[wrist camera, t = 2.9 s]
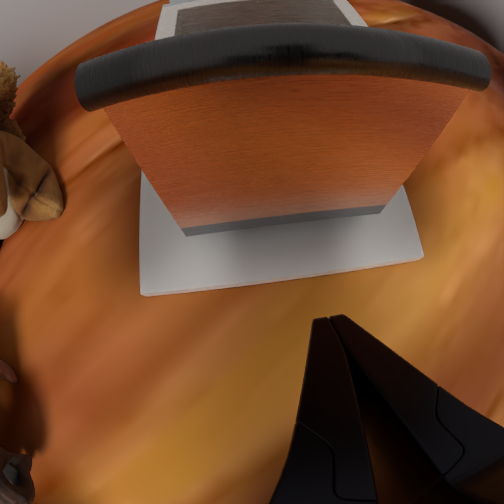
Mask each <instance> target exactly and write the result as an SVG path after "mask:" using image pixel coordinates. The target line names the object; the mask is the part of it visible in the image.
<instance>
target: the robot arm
mask: <svg viewBox="0 0 504 504" xmlns="http://www.w3.org/2000/svg"><path fill="white" fill-rule="evenodd" d="M268 504H504V427H502V426H500V425H499V424H497V423H495V422H493V421H492V420H490V419H488V418H486V417H485V416H483V415H481V414H480V413H478V412H477V411H475V410H473V409H472V408H470V407H469V406H467V405H465V404H464V403H463V402H461V401H460V400H458V399H457V398H456V397H454V396H453V395H451V394H450V393H449V392H447V391H446V390H445V389H443V388H442V387H441V386H438V385H437V384H436V383H435V382H434V381H432V380H431V379H430V378H428V377H427V376H426V375H425V374H423V373H422V372H421V371H419V370H418V369H417V368H415V367H414V366H413V365H411V364H410V363H409V362H407V361H406V360H405V359H403V358H402V357H401V356H399V355H398V354H397V353H395V352H394V351H393V350H391V349H390V348H389V347H387V346H386V345H385V344H383V343H382V342H381V341H379V340H378V339H377V338H375V337H374V336H373V335H371V334H370V333H369V332H367V331H366V330H364V329H363V328H362V327H360V326H359V325H358V324H356V323H355V322H354V321H352V320H351V319H350V318H348V317H347V316H346V315H343V314H340V315H335V316H330V317H329V318H327V317H323V318H317V319H313V321H312V327H311V334H310V341H309V348H308V354H307V360H306V366H305V372H304V378H303V384H302V390H301V395H300V401H299V406H298V411H297V416H296V424H295V426H294V430H293V435H292V440H291V444H290V447H289V451H288V455H287V459H286V461H285V464H284V467H283V469H282V472H281V475H280V477H279V480H278V482H277V484H276V487H275V489H274V491H273V494H272V496H271V498H270V500H269V502H268Z"/></svg>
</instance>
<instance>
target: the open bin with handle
mask: <svg viewBox="0 0 504 504" xmlns="http://www.w3.org/2000/svg"><path fill="white" fill-rule="evenodd" d="M490 80H491V68H490V64H489V62H488V60H487V58H486V57H485V55H484V54H482V53H481V52H479V51H477V50H474V49H470V48H467V47H464V46H461V45H457V44H454V43H450V42H446V41H443V40H439V39H434V38H430V37H426V36H421V35H416V34H411V33H406V32H401V31H395V30H388V29H381V28H374V27H368V26H367V24H366V23H365V22H364V20H363V19H362V18H361V17H360V16H359V14H358V13H357V12H356V11H355V9H354V8H353V7H352V6H351V5H350V4H349V2H348V1H347V0H197V1H192V2H186V3H181V4H176V5H171V6H167V7H163V9H162V13H161V17H160V21H159V25H158V30H157V34H156V39H155V40H154V41H150V42H146V43H143V44H139V45H135V46H132V47H128V48H125V49H121V50H118V51H115V52H112V53H109V54H106V55H103V56H100V57H97V58H94V59H92V60H89V61H86V62H84V63H81V64H80V65H79V66H78V67H77V69H76V72H75V90H76V94H77V97H78V100H79V102H80V104H81V105H82V107H83V108H84V109H85V110H87V111H89V112H91V111H95V110H98V109H101V108H103V109H104V110H105V112H106V114H107V115H108V117H109V119H110V120H111V122H112V123H113V125H114V127H115V128H116V130H117V132H118V133H119V135H120V136H121V138H122V140H123V141H124V143H125V144H126V146H127V148H128V149H129V151H130V152H131V154H132V156H133V157H134V159H135V160H136V162H137V163H138V165H139V166H140V168H141V170H142V171H143V173H144V174H145V176H146V177H147V179H148V180H149V182H150V183H151V185H152V187H153V188H154V190H155V191H156V193H157V194H158V196H159V197H160V199H161V200H162V202H163V203H164V205H165V206H166V208H167V209H168V211H169V212H170V214H171V215H172V217H173V218H174V220H175V221H176V222H177V224H178V225H179V227H180V228H181V230H182V231H183V233H184V234H185V236H186V237H187V236H195V235H202V234H209V233H217V232H225V231H232V230H240V229H248V228H256V227H264V226H272V225H281V224H289V223H297V222H306V221H315V220H324V219H333V218H342V217H351V216H361V215H371V214H380V212H381V211H382V210H383V209H384V208H385V206H386V205H387V204H388V203H389V201H390V200H391V199H392V197H393V196H394V195H395V194H396V192H397V191H398V190H399V189H400V187H401V186H402V185H403V183H404V182H405V181H406V180H407V178H408V177H409V176H410V174H411V173H412V172H413V170H414V169H415V168H416V166H417V165H418V164H419V162H420V161H421V160H422V158H423V157H424V156H425V154H426V153H427V152H428V150H429V149H430V147H431V146H432V145H433V143H434V142H435V140H436V139H437V138H438V136H439V135H440V133H441V132H442V131H443V129H444V128H445V126H446V125H447V123H448V122H449V121H450V119H451V118H452V116H453V115H454V113H455V112H456V110H457V109H458V107H459V106H460V104H461V103H462V101H463V100H464V98H465V97H466V95H467V94H468V92H469V91H470V90H474V91H483V90H485V89H486V88H487V87H488V85H489V83H490Z"/></svg>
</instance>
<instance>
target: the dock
mask: <svg viewBox="0 0 504 504" xmlns="http://www.w3.org/2000/svg"><path fill="white" fill-rule="evenodd" d="M169 1H170V4H165V5H163V7H167V6H171V5H176V4H181V3H186V2H192V1H197V0H169ZM163 7H162V9H163ZM161 13H162V11H161ZM160 17H161V15H160ZM159 21H160V19H159ZM158 25H159V23H158ZM157 30H158V27H157ZM156 34H157V31H156ZM155 39H156V36H155ZM423 257H424V253H423V249H422V245H421V242H420V238H419V234H418V231H417V227H416V224H415V220H414V217H413V214H412V210H411V207H410V204H409V201H408V198H407V195H406V192H405V189H404V186H403V185H402V186H401V187H400V189H399V190H398V191H397V192H396V194H395V195H394V196H393V197H392V199H391V200H390V201H389V203H388V204H387V205H386V206H385V208H384V209H383V210H382V211H381V212H380V214H371V215H361V216H351V217H342V218H333V219H324V220H315V221H306V222H297V223H289V224H281V225H272V226H264V227H256V228H248V229H240V230H232V231H225V232H217V233H209V234H202V235H195V236H187V237H186V236H185V234H184V233H183V231H182V230H181V228H180V227H179V225H178V224H177V222H176V221H175V220H174V218H173V217H172V215H171V214H170V212H169V211H168V209H167V208H166V206H165V205H164V203H163V202H162V200H161V199H160V197H159V196H158V194H157V193H156V191H155V190H154V188H153V187H152V185H151V183H150V182H149V180H148V179H147V177H146V176H145V174H144V173H143V171H142V174H141V193H140V226H139V264H140V294H141V295H144V296H146V297H147V296H158V295H167V294H177V293H186V292H196V291H205V290H213V289H222V288H231V287H239V286H247V285H255V284H263V283H271V282H278V281H286V280H293V279H301V278H308V277H315V276H322V275H329V274H336V273H342V272H349V271H356V270H362V269H369V268H375V267H381V266H387V265H394V264H400V263H406V262H412V261H417V260H419V259H421V258H423Z"/></svg>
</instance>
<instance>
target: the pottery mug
mask: <svg viewBox="0 0 504 504" xmlns="http://www.w3.org/2000/svg"><path fill="white" fill-rule="evenodd" d="M0 377H2V378H4V379H6V380H8V381H9V382H11V383H15V382H17V378H16V375H15V373H14V371H13V369H12V368H11V367H10V366H9V365H7V364H6V363H5V362H4V361H3V360H0ZM31 467H32V458H31V456H29V455H27V454H16V453H12V452H9V451H6V450H4V449H3V448H2V447H0V504H31V503H32V502H33V500H34V497H35V488H34V483H33V480H32V478H31V475H30V471H31ZM9 481H10V482H11V483H10V482H9Z"/></svg>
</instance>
